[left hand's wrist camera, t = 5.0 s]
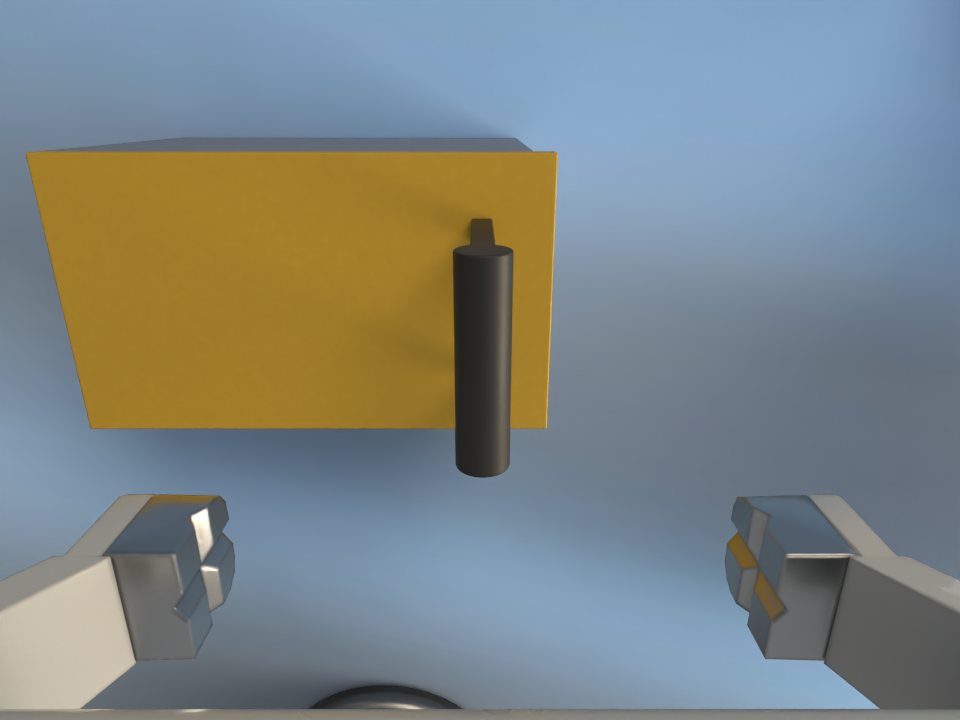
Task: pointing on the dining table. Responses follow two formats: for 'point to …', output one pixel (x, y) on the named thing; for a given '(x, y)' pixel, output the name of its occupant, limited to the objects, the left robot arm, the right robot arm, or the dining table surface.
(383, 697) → the right robot arm
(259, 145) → the chest
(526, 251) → the lid
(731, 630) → the dining table surface
